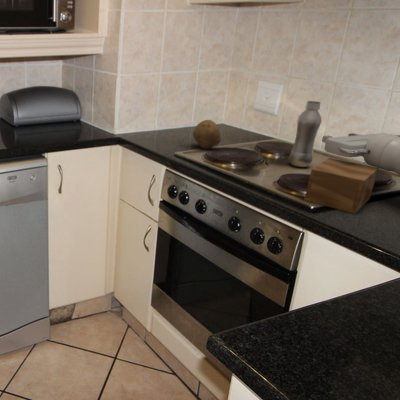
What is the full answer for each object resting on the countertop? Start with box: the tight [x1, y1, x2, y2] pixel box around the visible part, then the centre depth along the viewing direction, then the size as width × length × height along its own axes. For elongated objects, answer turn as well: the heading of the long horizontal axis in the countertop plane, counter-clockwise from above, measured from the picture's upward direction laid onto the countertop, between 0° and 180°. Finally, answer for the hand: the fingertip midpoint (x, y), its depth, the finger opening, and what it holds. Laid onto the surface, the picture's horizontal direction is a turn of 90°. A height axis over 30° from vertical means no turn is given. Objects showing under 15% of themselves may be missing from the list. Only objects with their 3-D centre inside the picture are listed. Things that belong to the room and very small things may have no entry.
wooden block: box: [303, 157, 380, 214], centre depth 123 cm, size 14×12×9 cm
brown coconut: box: [192, 119, 222, 150], centre depth 165 cm, size 9×9×10 cm
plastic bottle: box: [288, 100, 322, 168], centre depth 146 cm, size 6×7×20 cm
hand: (337, 137), depth 136 cm, fingers open, 8 cm apart
